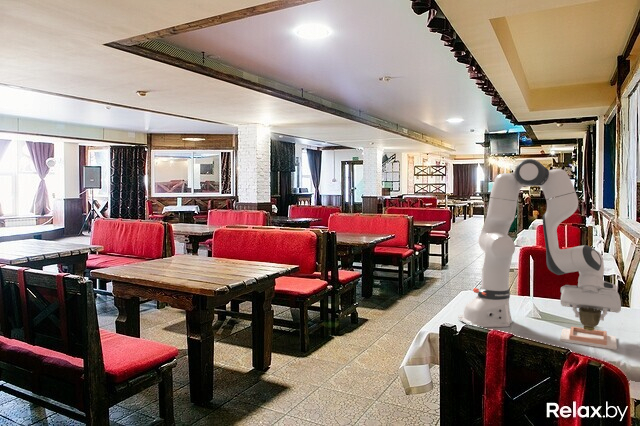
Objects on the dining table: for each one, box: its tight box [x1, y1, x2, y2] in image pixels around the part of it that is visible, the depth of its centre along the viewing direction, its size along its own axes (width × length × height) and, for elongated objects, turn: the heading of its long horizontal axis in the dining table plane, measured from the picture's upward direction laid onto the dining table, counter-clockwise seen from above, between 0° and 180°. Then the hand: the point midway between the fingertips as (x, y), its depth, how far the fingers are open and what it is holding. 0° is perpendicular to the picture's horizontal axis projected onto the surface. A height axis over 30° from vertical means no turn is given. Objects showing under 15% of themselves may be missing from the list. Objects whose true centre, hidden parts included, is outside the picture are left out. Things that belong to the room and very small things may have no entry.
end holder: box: [559, 325, 618, 351], centre depth 174 cm, size 13×18×2 cm
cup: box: [578, 307, 602, 331], centre depth 175 cm, size 8×7×8 cm
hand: (589, 318), depth 174 cm, fingers closed on cup, 6 cm apart
